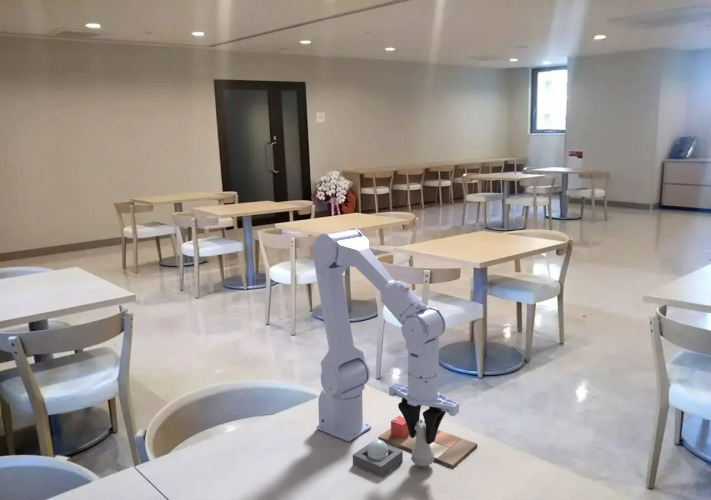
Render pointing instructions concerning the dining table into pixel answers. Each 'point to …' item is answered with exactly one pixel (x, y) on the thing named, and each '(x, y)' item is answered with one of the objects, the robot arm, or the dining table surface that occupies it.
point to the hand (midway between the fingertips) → (422, 438)
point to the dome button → (378, 450)
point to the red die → (399, 427)
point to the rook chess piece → (422, 446)
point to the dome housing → (375, 466)
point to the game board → (436, 446)
